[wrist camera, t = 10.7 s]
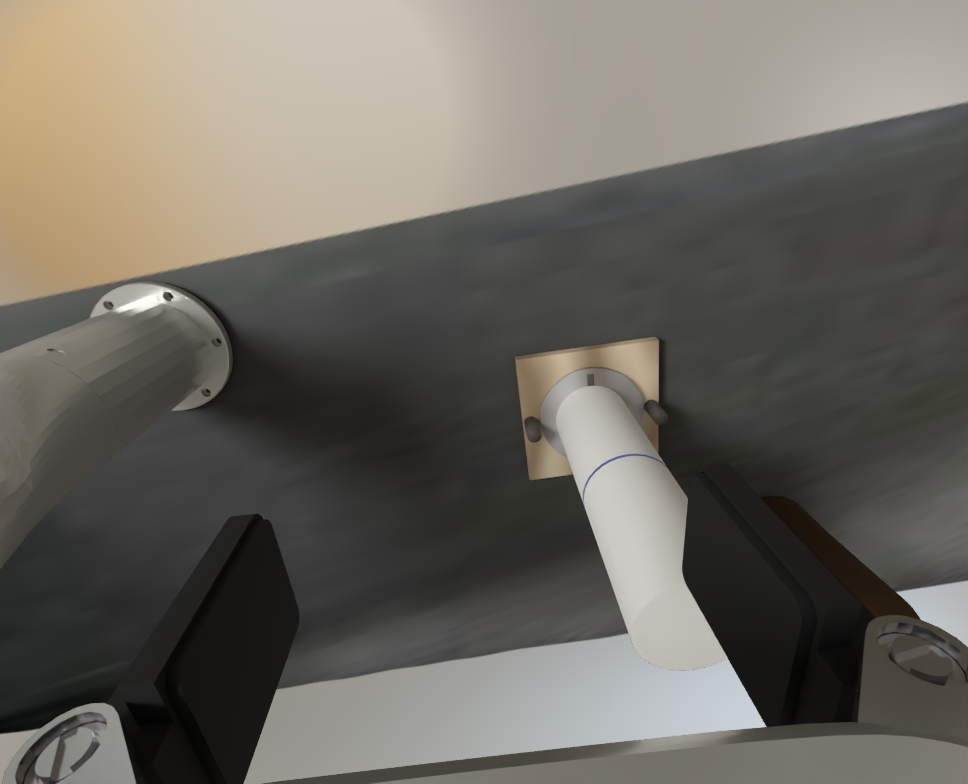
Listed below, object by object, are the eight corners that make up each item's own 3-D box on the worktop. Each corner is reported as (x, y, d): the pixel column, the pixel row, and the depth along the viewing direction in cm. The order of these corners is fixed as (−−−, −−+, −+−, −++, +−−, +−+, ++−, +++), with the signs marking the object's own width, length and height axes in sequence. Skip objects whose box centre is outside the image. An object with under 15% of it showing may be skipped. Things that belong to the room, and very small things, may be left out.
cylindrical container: (617, 376, 49) (751, 564, 26) (632, 435, 52) (765, 651, 29) (547, 399, 50) (618, 601, 27) (566, 456, 52) (645, 682, 30)
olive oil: (701, 544, 60) (846, 772, 37) (758, 477, 57) (959, 683, 34) (768, 574, 62) (944, 806, 40) (827, 511, 59) (1059, 726, 36)
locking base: (528, 475, 55) (533, 496, 52) (514, 356, 50) (518, 371, 46) (655, 457, 55) (668, 478, 51) (655, 336, 49) (670, 349, 46)
